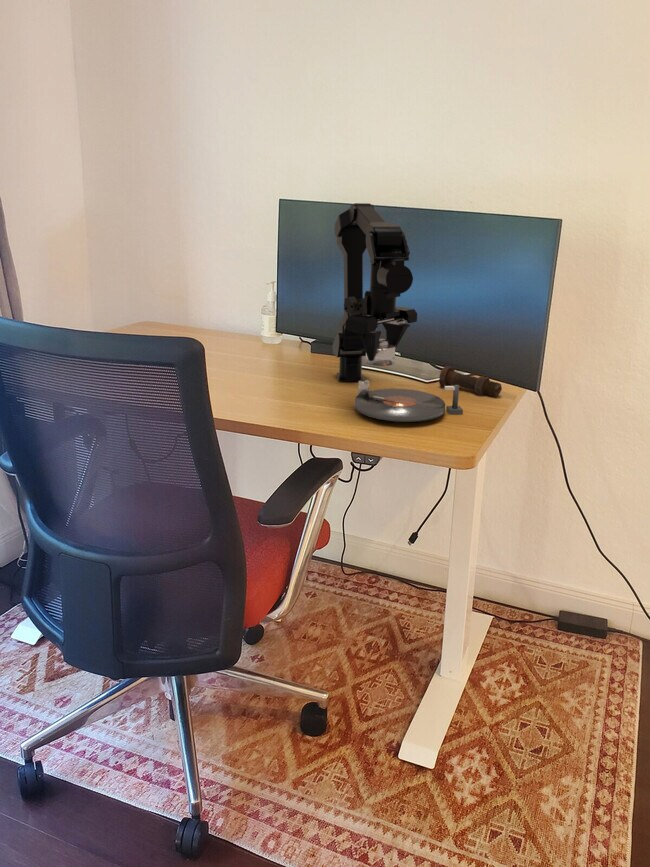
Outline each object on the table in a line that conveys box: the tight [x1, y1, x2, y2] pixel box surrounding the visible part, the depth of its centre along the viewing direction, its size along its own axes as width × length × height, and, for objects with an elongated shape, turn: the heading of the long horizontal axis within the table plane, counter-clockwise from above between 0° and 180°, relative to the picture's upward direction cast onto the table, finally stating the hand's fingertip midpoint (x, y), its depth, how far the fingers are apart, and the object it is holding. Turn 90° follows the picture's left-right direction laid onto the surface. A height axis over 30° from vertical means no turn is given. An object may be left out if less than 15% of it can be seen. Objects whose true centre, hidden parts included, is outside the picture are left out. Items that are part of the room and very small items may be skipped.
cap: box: [365, 338, 396, 367], centre depth 165 cm, size 6×6×5 cm
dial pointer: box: [443, 385, 464, 415], centre depth 167 cm, size 3×4×6 cm
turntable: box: [353, 379, 446, 423], centre depth 166 cm, size 20×20×4 cm
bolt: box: [438, 365, 503, 397], centre depth 183 cm, size 6×5×15 cm
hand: (380, 357), depth 166 cm, fingers closed on cap, 6 cm apart
